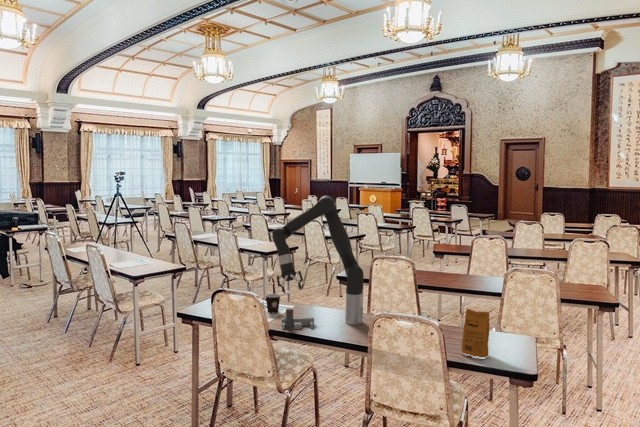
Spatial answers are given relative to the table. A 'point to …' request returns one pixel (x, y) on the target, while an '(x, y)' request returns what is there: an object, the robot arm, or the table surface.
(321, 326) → the table surface
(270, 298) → the coffee mug
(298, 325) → the duct
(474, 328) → the coffee package
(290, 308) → the plug
